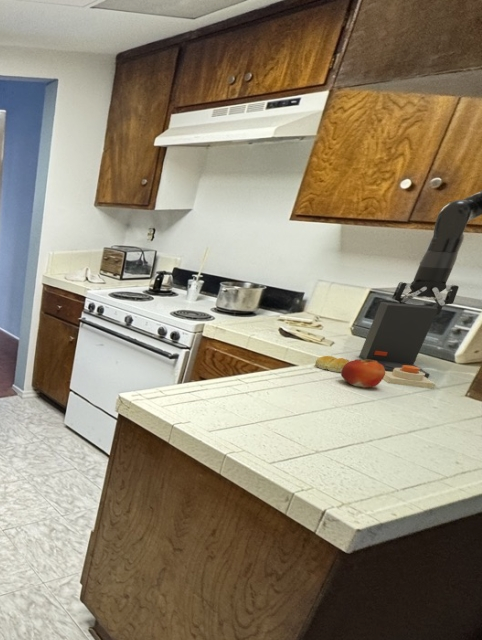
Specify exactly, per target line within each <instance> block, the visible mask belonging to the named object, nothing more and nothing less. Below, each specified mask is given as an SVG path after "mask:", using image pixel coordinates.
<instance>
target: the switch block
mask: <svg viewBox="0 0 482 640" xmlns="http://www.w3.org/2000/svg"><path fill="white" fill-rule="evenodd" d="M401 369H402V368H394V369H393V372H388V371H385V376H384V377H383V379H382V381H385V382H386V383H387V384H393V385H401V386H408V387H416V388H422V389H423V388H424V389H432V390H434V389H435V387H436V383H435V382H434V381H432V380H430V379H429V378H426V377H424V376H425V373H423V372H420V371H418V374H415V373H408V372H404V371H401Z"/></svg>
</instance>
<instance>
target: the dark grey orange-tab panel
mask: <svg viewBox="0 0 482 640" xmlns="http://www.w3.org/2000/svg"><path fill="white" fill-rule="evenodd" d="M437 311H438V309H437V308H434V306H431V305H425V304H424V305H423V304H410V303H406V304H400V303H398V302H386V301H381V302H380V303H379V305H378V308H377V310H376V313H375V315H374V317H373V320H372V323H371V325H370V327H369V330H368V333H367V335H366V337H365V340H364V343H363V345H362V348H361V350H360V353H359V354H358V357H359V358H360V360H367V359H370V360H374V361H377V362H378V363H380V364H382V365H383V367H384V369H385V371H388V372H393V369H394V368H402V366H403V365H410V366H415V367H418V366H417V365H415V362H416V360H417V357H418V355H419V353H420V351H421V349H422V346H423V344H424V342H425V340H426V338H427V335H428V333H429V331H430V329H431V326H432V324H433V322H434V320H435V319H436V316H437V315H436V313H437ZM435 315H436V316H435ZM419 371H420V372H423V373H425V376H424V377H426V378H427V379H429V377H430V373H429V372H427V371H425V370H424V369H421V368H420V369H419Z"/></svg>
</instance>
